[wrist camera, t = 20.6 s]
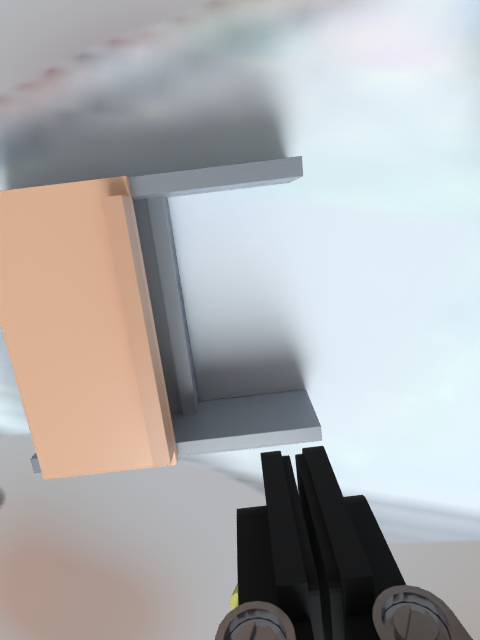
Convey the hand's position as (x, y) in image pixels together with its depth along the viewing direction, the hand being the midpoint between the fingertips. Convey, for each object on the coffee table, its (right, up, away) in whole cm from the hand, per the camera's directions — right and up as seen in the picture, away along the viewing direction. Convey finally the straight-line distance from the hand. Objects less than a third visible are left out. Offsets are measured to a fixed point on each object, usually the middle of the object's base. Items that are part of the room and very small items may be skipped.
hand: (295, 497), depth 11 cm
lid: (-12, +3, +18) cm, 22 cm away
